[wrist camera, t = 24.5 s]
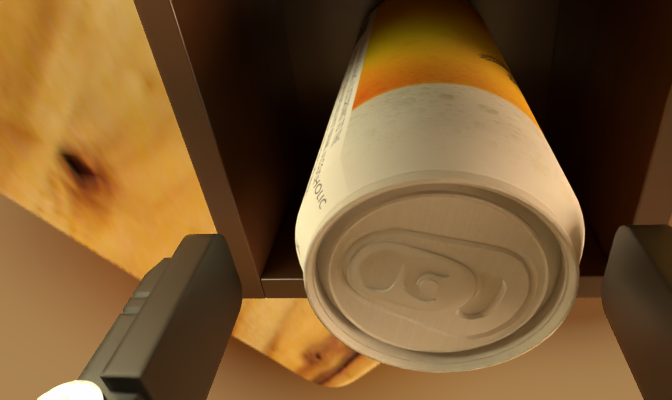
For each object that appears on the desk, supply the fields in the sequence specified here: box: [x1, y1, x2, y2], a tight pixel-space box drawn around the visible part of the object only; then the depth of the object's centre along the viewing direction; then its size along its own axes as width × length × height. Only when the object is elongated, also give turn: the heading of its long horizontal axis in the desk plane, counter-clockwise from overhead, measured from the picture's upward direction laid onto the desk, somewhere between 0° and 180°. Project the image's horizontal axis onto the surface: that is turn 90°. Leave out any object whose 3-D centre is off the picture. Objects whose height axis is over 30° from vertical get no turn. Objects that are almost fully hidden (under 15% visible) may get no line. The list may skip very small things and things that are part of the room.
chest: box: [134, 0, 672, 298], centre depth 16 cm, size 15×14×11 cm
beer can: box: [295, 0, 585, 373], centre depth 15 cm, size 6×6×15 cm
